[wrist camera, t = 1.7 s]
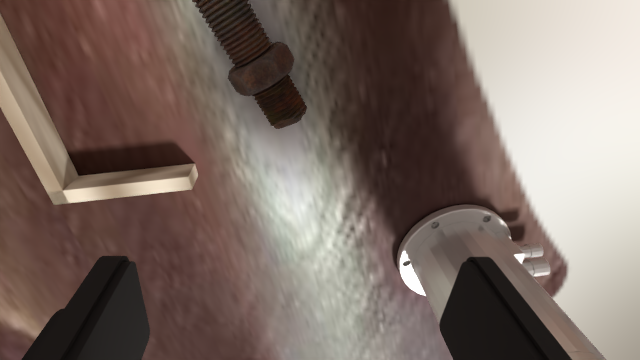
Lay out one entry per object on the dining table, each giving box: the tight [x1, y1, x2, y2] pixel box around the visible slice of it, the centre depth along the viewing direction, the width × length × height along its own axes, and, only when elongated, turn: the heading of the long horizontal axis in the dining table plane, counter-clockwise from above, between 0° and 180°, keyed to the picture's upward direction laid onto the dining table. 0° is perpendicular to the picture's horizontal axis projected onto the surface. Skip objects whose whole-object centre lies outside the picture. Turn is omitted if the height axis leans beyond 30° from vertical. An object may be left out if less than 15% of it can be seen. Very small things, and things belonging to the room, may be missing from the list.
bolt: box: [192, 0, 307, 129], centre depth 23 cm, size 6×5×15 cm
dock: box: [0, 14, 198, 205], centre depth 24 cm, size 11×22×2 cm, turn 4°
